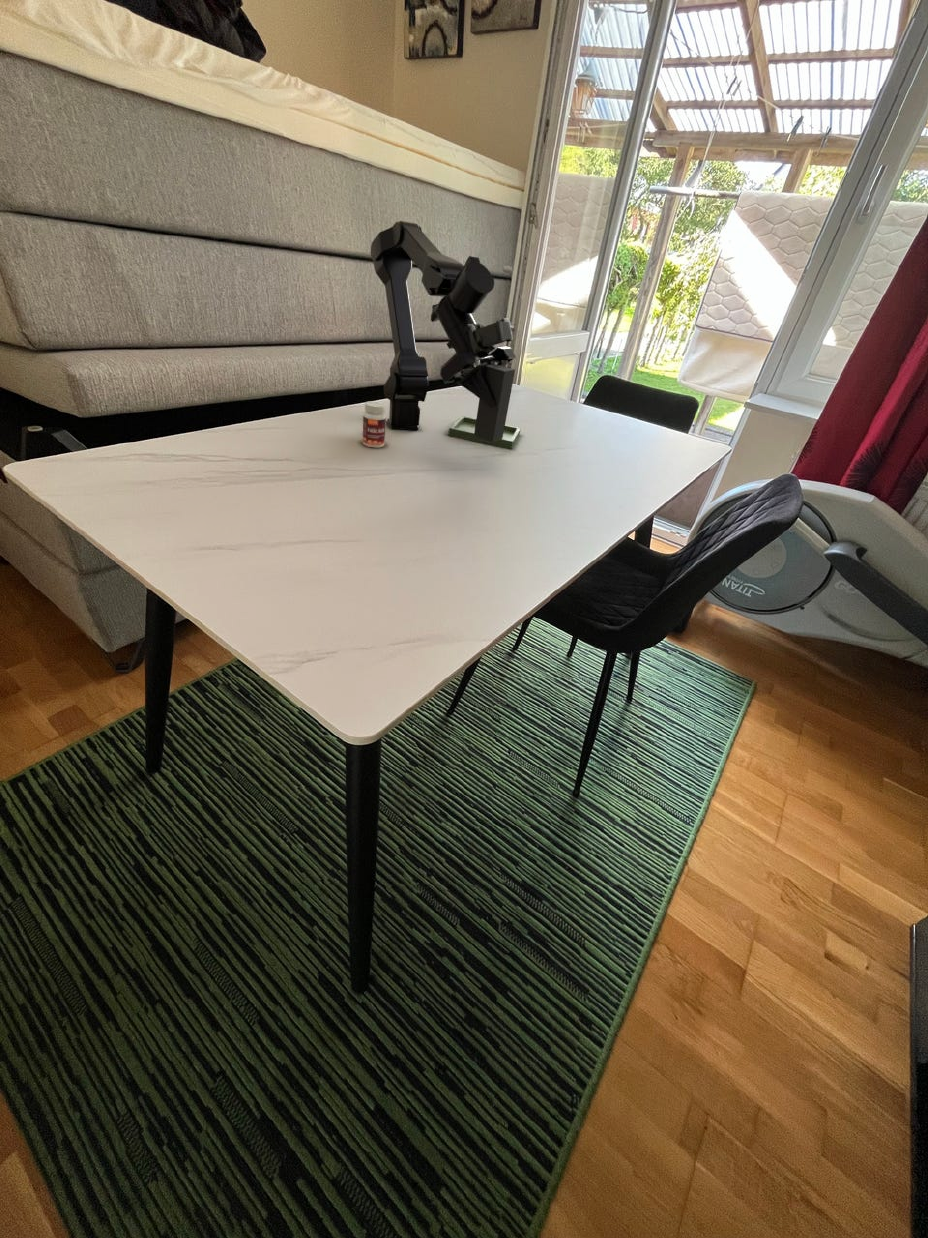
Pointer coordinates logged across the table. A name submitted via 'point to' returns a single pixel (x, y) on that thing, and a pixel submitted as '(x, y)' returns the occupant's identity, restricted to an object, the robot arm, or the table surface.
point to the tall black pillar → (494, 418)
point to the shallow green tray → (466, 431)
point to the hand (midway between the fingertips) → (499, 404)
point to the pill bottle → (374, 424)
